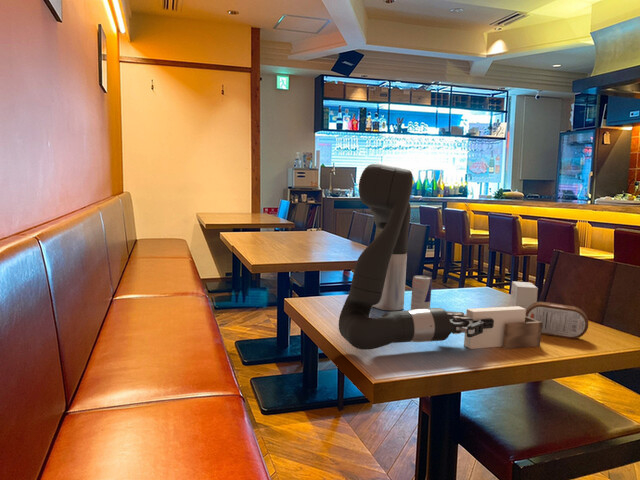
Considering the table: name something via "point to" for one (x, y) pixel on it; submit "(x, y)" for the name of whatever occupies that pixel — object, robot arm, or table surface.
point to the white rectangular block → (495, 334)
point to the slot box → (522, 334)
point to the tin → (559, 319)
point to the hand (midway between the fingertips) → (488, 321)
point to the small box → (523, 294)
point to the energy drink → (421, 292)
